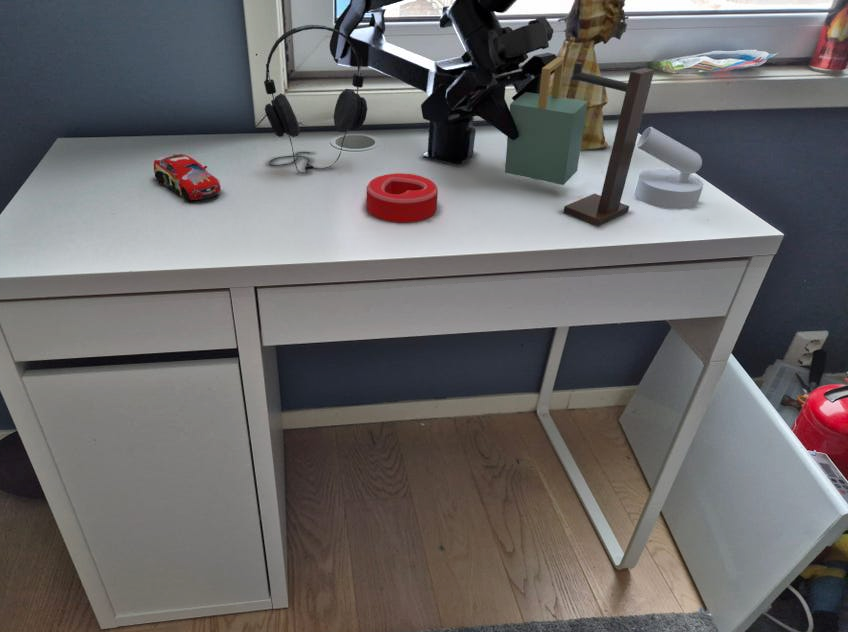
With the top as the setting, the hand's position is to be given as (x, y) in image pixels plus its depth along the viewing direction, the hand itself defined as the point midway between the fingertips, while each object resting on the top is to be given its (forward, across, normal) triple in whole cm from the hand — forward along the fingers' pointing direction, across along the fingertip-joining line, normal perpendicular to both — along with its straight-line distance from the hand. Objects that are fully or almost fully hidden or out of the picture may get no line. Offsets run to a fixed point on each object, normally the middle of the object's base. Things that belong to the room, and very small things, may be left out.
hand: (530, 134), depth 93 cm
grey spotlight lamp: (+16, +12, -6) cm, 21 cm away
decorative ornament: (+2, -20, +9) cm, 22 cm away
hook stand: (+13, 0, -2) cm, 13 cm away
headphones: (-13, -19, +24) cm, 33 cm away
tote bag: (+5, +1, +2) cm, 6 cm away
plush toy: (-1, +21, +12) cm, 24 cm away
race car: (-15, -39, +26) cm, 50 cm away
